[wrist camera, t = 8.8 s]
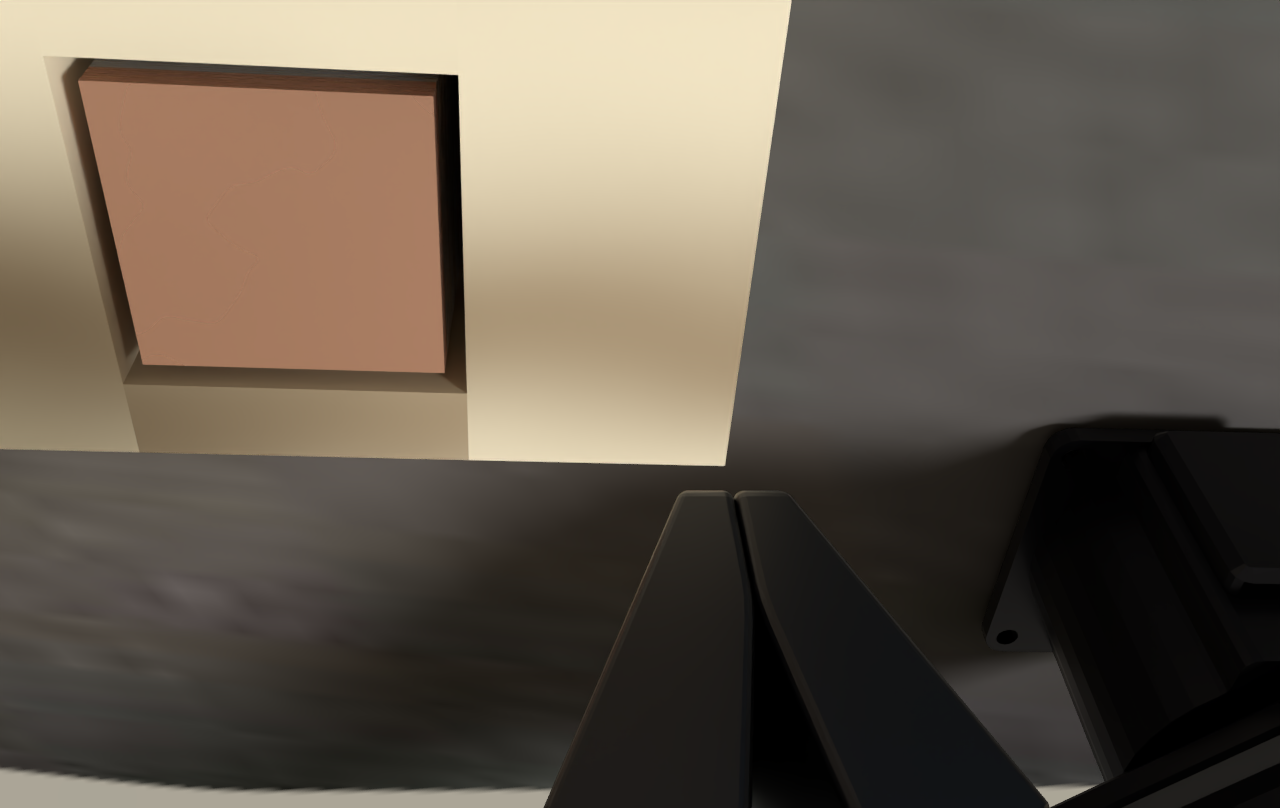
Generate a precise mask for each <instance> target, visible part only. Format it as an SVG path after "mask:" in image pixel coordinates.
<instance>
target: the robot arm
mask: <svg viewBox="0 0 1280 808" xmlns="http://www.w3.org/2000/svg"><path fill="white" fill-rule="evenodd" d="M1077 449H1078V450H1077ZM1071 450H1077V451H1076V452H1075V453H1073V454H1071V455H1067V456H1064V455H1065V454H1066V453H1067V452H1069V451H1071ZM1005 630H1006V631H1005ZM982 632H983V635H984V638H985V641H986V643H987V645H988V646H989V647H990V648H992V649H993V650H997V651H1019V652H1053V653H1054V656H1055V658H1056V661H1057V663H1058V666H1059V668H1060V671H1061V673H1062V676H1063V678H1064V681H1065V683H1066V686H1067V689H1068V691H1069V694H1070V696H1071V699H1072V701H1073V704H1074V706H1075V709H1076V711H1077V714H1078V716H1079V719H1080V722H1081V724H1082V727H1083V729H1084V732H1085V734H1086V737H1087V739H1088V742H1089V744H1090V747H1091V749H1092V752H1093V755H1094V757H1095V760H1096V762H1097V765H1098V767H1099V770H1100V772H1101V775H1102V777H1103V780H1104V782H1103V783H1101V784H1099V785H1097V786H1095V787H1093V788H1091V789H1088V790H1086V791H1084V792H1082V793H1080V794H1078V795H1076V796H1074V797H1071V798H1069V799H1067V800H1065V801H1063V802H1061V803H1059V804H1057V805H1055V806H1052V807H1050V808H1280V433H1246V432H1208V431H1170V430H1132V429H1094V428H1071V429H1064V430H1062V431H1060V432H1057V433H1055V434H1054V435H1053V436H1052V437H1051V438H1049V439H1048V441H1047V443H1046V444H1045V446H1044V449H1043V452H1042V455H1041V457H1040V460H1039V463H1038V466H1037V469H1036V472H1035V474H1034V477H1033V480H1032V483H1031V486H1030V489H1029V492H1028V494H1027V497H1026V500H1025V503H1024V506H1023V509H1022V511H1021V514H1020V517H1019V520H1018V523H1017V526H1016V528H1015V531H1014V534H1013V537H1012V540H1011V543H1010V546H1009V548H1008V551H1007V554H1006V557H1005V560H1004V563H1003V565H1002V568H1001V571H1000V574H999V577H998V580H997V583H996V585H995V588H994V591H993V594H992V597H991V600H990V602H989V605H988V608H987V611H986V614H985V617H984V620H983V622H982ZM544 808H1049V804H1048V802H1047V801H1046V800H1045V798H1044V797H1043V796H1042V795H1041V794H1040V792H1039V791H1038V790H1037V789H1036V788H1035V786H1034V785H1033V784H1032V783H1031V782H1030V780H1029V779H1028V778H1027V777H1026V776H1025V774H1024V773H1023V772H1022V771H1021V770H1020V769H1019V767H1018V766H1017V765H1016V764H1015V763H1014V761H1013V760H1012V759H1011V758H1010V757H1009V755H1008V754H1007V753H1006V752H1005V751H1004V749H1003V748H1002V747H1001V746H1000V745H999V743H998V742H997V741H996V740H995V739H994V737H993V736H992V735H991V734H990V733H989V732H988V730H987V729H986V728H985V727H984V726H983V724H982V723H981V722H980V721H979V720H978V718H977V717H976V716H975V715H974V714H973V712H972V711H971V710H970V709H969V708H968V706H967V705H966V704H965V703H964V702H963V700H962V699H961V698H960V697H959V696H958V695H957V693H956V692H955V691H954V690H953V689H952V687H951V686H950V685H949V684H948V683H947V681H946V680H945V679H944V678H943V677H942V675H941V674H940V673H939V672H938V671H937V669H936V668H935V667H934V666H933V665H932V663H931V662H930V661H929V660H928V659H927V658H926V656H925V655H924V654H923V653H922V652H921V650H920V649H919V648H918V647H917V646H916V644H915V643H914V642H913V641H912V640H911V638H910V637H909V636H908V635H907V634H906V632H905V631H904V630H903V629H902V628H901V626H900V625H899V624H898V623H897V622H896V621H895V619H894V618H893V617H892V616H891V615H890V613H889V612H888V611H887V610H886V609H885V607H884V606H883V605H882V604H881V603H880V601H879V600H878V599H877V598H876V597H875V595H874V594H873V593H872V592H871V591H870V589H869V588H868V587H867V586H866V585H865V584H864V582H863V581H862V580H861V579H860V578H859V576H858V575H857V574H856V573H855V572H854V570H853V569H852V568H851V567H850V566H849V564H848V563H847V562H846V561H845V560H844V558H843V557H842V556H841V555H840V554H839V552H838V551H837V550H836V549H835V548H834V547H833V545H832V544H831V543H830V542H829V541H828V539H827V538H826V537H825V536H824V535H823V533H822V532H821V531H820V530H819V529H818V527H817V526H816V525H815V524H814V523H813V521H812V520H811V519H810V518H809V517H808V515H807V514H806V513H805V512H804V511H803V510H802V508H801V507H800V506H799V505H798V504H797V502H796V501H795V500H794V499H793V498H792V497H791V496H790V495H789V494H788V493H786V492H784V491H740V492H738V493H737V494H736V495H735V496H734V498H733V497H732V495H731V494H730V493H729V492H727V491H723V490H687V491H684V492H682V493H680V494H679V496H678V497H677V499H676V501H675V503H674V506H673V508H672V510H671V513H670V515H669V517H668V520H667V522H666V524H665V527H664V529H663V531H662V534H661V536H660V538H659V540H658V543H657V545H656V547H655V550H654V552H653V554H652V557H651V559H650V561H649V564H648V566H647V568H646V571H645V573H644V575H643V578H642V580H641V582H640V585H639V587H638V589H637V592H636V594H635V596H634V599H633V601H632V603H631V606H630V608H629V610H628V613H627V615H626V617H625V620H624V622H623V624H622V627H621V629H620V631H619V634H618V636H617V638H616V641H615V643H614V645H613V648H612V650H611V652H610V654H609V657H608V659H607V661H606V664H605V666H604V668H603V671H602V673H601V675H600V678H599V680H598V682H597V685H596V687H595V689H594V692H593V694H592V696H591V699H590V701H589V703H588V706H587V708H586V710H585V713H584V715H583V717H582V720H581V722H580V724H579V727H578V729H577V731H576V734H575V736H574V738H573V741H572V743H571V745H570V748H569V750H568V752H567V755H566V757H565V759H564V761H563V764H562V766H561V768H560V771H559V773H558V775H557V778H556V780H555V782H554V785H553V787H552V789H551V792H550V794H549V796H548V799H547V801H546V804H545V806H544Z"/></svg>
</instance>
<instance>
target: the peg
mask: <svg viewBox="0 0 1280 808" xmlns="http://www.w3.org/2000/svg"><path fill="white" fill-rule="evenodd" d="M78 83H79V88H80V92H81V96H82V101H83V105H84V109H85V114H86V118H87V123H88V127H89V131H90V136H91V140H92V144H93V149H94V153H95V158H96V162H97V166H98V171H99V175H100V179H101V184H102V188H103V193H104V197H105V201H106V206H107V210H108V214H109V219H110V223H111V228H112V232H113V236H114V241H115V245H116V249H117V254H118V258H119V262H120V267H121V271H122V276H123V280H124V284H125V289H126V293H127V297H128V302H129V306H130V311H131V315H132V319H133V324H134V328H135V332H136V337H137V341H138V346H139V350H140V354H141V359H142V363H143V365H177V366H212V367H247V368H282V369H317V370H352V371H387V372H422V373H445V367H446V360H447V353H448V346H449V339H450V332H451V325H452V318H453V311H454V304H455V297H456V290H457V283H458V276H459V269H460V262H461V255H462V248H463V227H462V190H461V153H460V116H459V79H458V75H449V74H427V73H406V72H384V71H362V70H340V69H319V68H297V67H275V66H253V65H232V64H210V63H188V62H166V61H145V60H123V59H101V58H95V59H94V61H93V62H92V63H91V64H90V66H89V67H88V68H87V70H86V71H85V72H84V73H83V75H82V76H81V77H80V78H79V80H78Z"/></svg>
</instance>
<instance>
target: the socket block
mask: <svg viewBox="0 0 1280 808" xmlns="http://www.w3.org/2000/svg"><path fill="white" fill-rule="evenodd" d="M790 7H791V0H0V449H20V450H63V451H106V452H148V453H191V454H234V455H277V456H319V457H362V458H405V459H447V460H490V461H533V462H575V463H618V464H661V465H703V466H725V461H726V454H727V447H728V440H729V433H730V426H731V419H732V412H733V405H734V398H735V391H736V384H737V377H738V370H739V363H740V356H741V349H742V342H743V335H744V328H745V321H746V314H747V307H748V300H749V293H750V286H751V279H752V272H753V266H754V259H755V252H756V245H757V238H758V231H759V224H760V217H761V210H762V203H763V196H764V189H765V182H766V175H767V168H768V161H769V154H770V147H771V140H772V133H773V126H774V119H775V112H776V105H777V98H778V91H779V84H780V77H781V70H782V63H783V56H784V49H785V42H786V35H787V28H788V21H789V14H790ZM95 58H101V59H123V60H145V61H166V62H188V63H210V64H232V65H253V66H275V67H297V68H319V69H340V70H362V71H384V72H406V73H427V74H449V75H458V79H459V116H460V153H461V190H462V227H463V248H462V255H461V262H460V269H459V276H458V283H457V290H456V297H455V304H454V311H453V318H452V325H451V332H450V339H449V346H448V353H447V360H446V367H445V373H422V372H387V371H352V370H317V369H282V368H247V367H212V366H177V365H143V363H142V359H141V354H140V350H139V346H138V341H137V337H136V332H135V328H134V324H133V319H132V315H131V311H130V306H129V302H128V297H127V293H126V289H125V284H124V280H123V276H122V271H121V267H120V262H119V258H118V254H117V249H116V245H115V241H114V236H113V232H112V228H111V223H110V219H109V214H108V210H107V206H106V201H105V197H104V193H103V188H102V184H101V179H100V175H99V171H98V166H97V162H96V158H95V153H94V149H93V144H92V140H91V136H90V131H89V127H88V123H87V118H86V114H85V109H84V105H83V101H82V96H81V92H80V88H79V83H78V80H79V78H80V77H81V76H82V75H83V73H84V72H85V71H86V70H87V68H88V67H89V66H90V64H91V63H92V62H93V61H94V59H95Z"/></svg>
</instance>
